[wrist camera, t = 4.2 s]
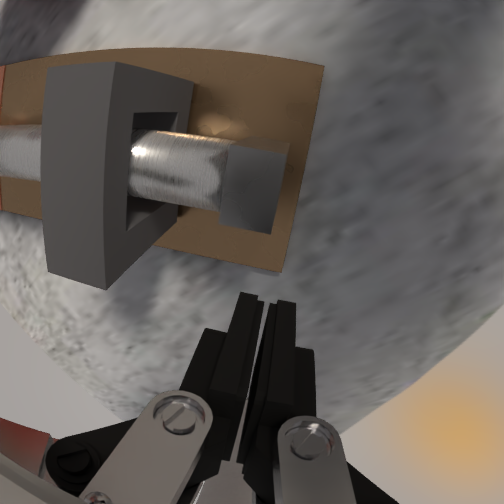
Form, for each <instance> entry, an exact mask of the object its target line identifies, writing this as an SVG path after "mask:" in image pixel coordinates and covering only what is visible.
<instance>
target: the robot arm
mask: <svg viewBox="0 0 504 504" xmlns="http://www.w3.org/2000/svg"><path fill="white" fill-rule="evenodd" d="M257 299H258V295H254V294H249V293H244V292H240V295H239V298H238V301H237V304H236V307H235V310H234V314H233V317H232V320H231V323H230V326H229V329H228V332H227V333H226V332H222V331H217V330H213V329H209V328H205V330H204V332H203V334H202V336H201V339H200V341H199V343H198V346H197V348H196V350H195V353H194V355H193V358H192V360H191V362H190V365H189V367H188V369H187V372H186V374H185V377H184V379H183V381H182V384H181V386H180V389H179V390H172V391H167V392H163V393H161V394H159V395H157V396H155V397H154V398H153V399H152V400H151V401H150V402H149V403H148V405H147V406H146V407H145V409H144V410H143V411H142V413H141V414H140V415H139V417H138V418H135V419H132V420H128V421H125V422H121V423H118V424H115V425H111V426H108V427H104V428H100V429H97V430H93V431H89V432H85V433H81V434H77V435H72V436H68V437H65V438H62V439H60V440H59V439H55V438H52V437H51V435H50V434H48V433H45V432H42V431H38V430H35V429H32V428H28V427H25V426H22V425H20V424H16V423H14V422H11V421H8V420H5V419H2V418H0V504H193V503H194V501H195V499H196V497H197V495H198V493H199V491H200V489H201V486H202V484H203V481H205V480H207V479H209V478H211V477H213V476H215V475H218V473H219V470H220V465H221V461H222V460H224V461H229V462H230V459H231V455H232V451H233V448H234V444H235V440H236V436H237V433H238V429H239V425H240V421H241V417H242V414H243V410H244V406H245V402H246V397H247V393H248V388H249V383H250V378H251V372H252V367H253V362H254V356H255V351H256V346H257V340H258V335H259V329H260V324H261V318H262V313H263V307H264V301H259V300H257ZM295 339H296V303H293V302H288V301H283V300H278V301H277V304H273V303H270V305H269V309H268V313H267V317H266V322H265V326H264V330H263V334H262V338H261V342H260V346H259V351H258V355H257V359H256V363H255V367H254V371H253V376H252V381H251V386H250V392H249V397H248V403H247V408H246V413H245V418H244V424H243V429H242V434H241V439H240V444H239V449H238V454H237V459H236V463H239V464H243V468H242V473H241V474H244V476H243V480H244V481H245V482H246V483H247V484H248V485H249V486H250V487H251V488H252V504H399V503H398V502H397V501H395V500H394V499H393V498H392V497H390V496H389V495H388V494H386V493H385V492H384V491H382V490H381V489H380V488H379V487H377V486H376V485H375V484H374V483H372V482H371V481H370V480H369V479H368V478H366V477H365V476H364V475H363V474H361V473H360V472H359V471H358V470H357V469H355V468H354V467H353V466H352V465H351V464H349V463H348V462H347V461H346V458H345V454H344V450H343V446H342V442H341V438H340V436H339V434H338V432H337V431H336V430H335V428H334V427H333V426H332V425H331V424H329V423H328V422H326V421H325V420H322V419H320V418H317V417H316V387H315V361H314V351H313V350H312V349H306V348H301V347H295Z"/></svg>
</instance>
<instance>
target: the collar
mask: <svg viewBox="0 0 504 504" xmlns="http://www.w3.org/2000/svg"><path fill="white" fill-rule="evenodd" d="M193 86H194V82H192V81H189V80H186V79H182V78H179V77H176V76H172V75H169V74H165V73H161V72H158V71H154V70H150V69H146V68H142V67H138V66H134V65H130V64H125V63H121V62H116V61H113V62H96V63H83V64H72V65H63V66H55V67H48V69H47V76H46V84H45V92H44V102H43V113H42V128H41V155H40V179H41V207H42V222H43V234H44V244H45V253H46V261H47V268H48V272H50V273H53V274H56V275H59V276H62V277H65V278H68V279H71V280H74V281H77V282H81V283H84V284H87V285H90V286H93V287H97V288H100V289H103V290H107V289H108V288H109V287H110V286H111V285H112V284H113V283H114V282H115V281H116V280H117V279H118V278H119V277H120V276H121V275H122V274H123V273H124V272H125V271H126V270H127V269H128V268H129V267H130V266H131V265H132V264H133V263H134V262H135V261H136V260H137V259H138V258H139V257H140V256H141V255H142V254H143V253H144V252H145V251H146V250H147V249H149V248H150V247H151V246H152V245H153V244H154V243H155V242H156V241H157V240H158V239H159V238H160V237H161V236H162V235H163V234H164V233H165V232H166V231H168V230H169V229H170V228H171V227H172V226H173V225H174V224H175V223H176V222H177V214H178V204H173V203H168V202H162V201H156V200H151V199H145V198H139V197H134V196H128V195H127V185H128V168H129V155H130V143H131V133H132V128H136V129H147V130H158V131H167V132H176V133H185V134H186V133H187V126H188V119H189V112H190V105H191V99H192V93H193Z"/></svg>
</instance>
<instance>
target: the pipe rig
mask: <svg viewBox="0 0 504 504" xmlns="http://www.w3.org/2000/svg"><path fill="white" fill-rule="evenodd" d="M113 61H116V62H121V63H125V64H130V65H134V66H138V67H142V68H146V69H150V70H154V71H158V72H161V73H165V74H169V75H172V76H176V77H179V78H182V79H186V80H189V81H192V82H194V86H193V93H192V99H191V105H190V112H189V119H188V126H187V133H186V134H185V133H176V132H167V131H158V130H147V129H136V128H132V133H131V143H130V155H129V168H128V185H127V195H128V196H134V197H139V198H145V199H151V200H156V201H162V202H168V203H173V204H178V214H177V222H176V223H175V224H174V225H173V226H172V227H171V228H170V229H169V230H168V231H166V232H165V233H164V234H163V235H162V236H161V237H160V238H159V239H158V240H157V241H156V242H155V243H154V244H153V245H155V246H160V247H164V248H169V249H173V250H178V251H182V252H187V253H191V254H196V255H200V256H205V257H210V258H214V259H219V260H224V261H228V262H233V263H238V264H242V265H247V266H252V267H256V268H261V269H266V270H271V271H275V272H280V273H281V272H282V268H283V264H284V259H285V255H286V251H287V246H288V242H289V237H290V233H291V229H292V224H293V220H294V215H295V211H296V206H297V201H298V197H299V192H300V187H301V183H302V178H303V173H304V168H305V164H306V159H307V154H308V149H309V144H310V139H311V134H312V129H313V124H314V119H315V114H316V109H317V103H318V98H319V93H320V88H321V82H322V77H323V71H324V66H322V65H317V64H313V63H308V62H303V61H297V60H292V59H286V58H280V57H274V56H267V55H260V54H252V53H244V52H235V51H224V50H212V49H195V48H124V49H108V50H96V51H86V52H77V53H69V54H62V55H55V56H49V57H43V58H37V59H32V60H27V61H22V62H18V63H13V64H9V65H4V66H0V210H4V211H8V212H12V213H16V214H21V215H25V216H29V217H33V218H37V219H42V207H41V179H40V155H41V128H42V113H43V102H44V92H45V84H46V76H47V69H48V67H55V66H63V65H72V64H83V63H96V62H113Z"/></svg>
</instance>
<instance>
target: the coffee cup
mask: <svg viewBox="0 0 504 504" xmlns="http://www.w3.org/2000/svg"><path fill="white" fill-rule="evenodd" d="M247 403H248V399H247V400H246V402H245V406H244V410H243V414H242V417H241V421H240V425H239V429H238V433H237V436H236V440H235V444H234V448H233V451H232V455H231V459H230V462H229V461H224V460H222V461H221V465H220V470H219V473H218V475H215V476H213V477H211V478H209V479H207V480H205V483H204V485H203V488H202V491H201V493H200V495H199V498H198V500H197V503H196V504H252V488H251V487H250V486H249V485H248V484H247V483H246V482H245V481H244V480H243V476H244V474H241V473H242V468H243V464H239V463H236V459H237V454H238V449H239V444H240V439H241V434H242V429H243V424H244V418H245V413H246V408H247Z"/></svg>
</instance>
